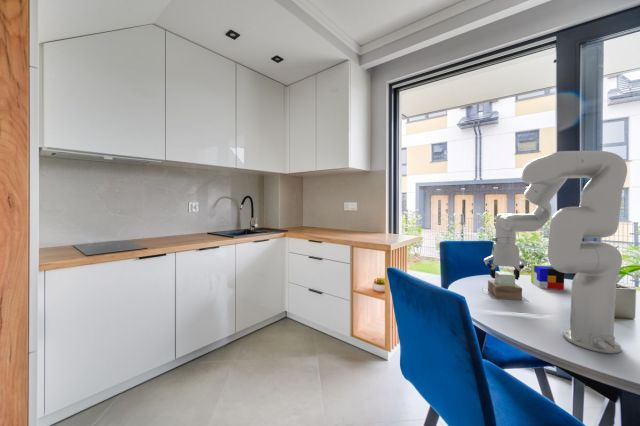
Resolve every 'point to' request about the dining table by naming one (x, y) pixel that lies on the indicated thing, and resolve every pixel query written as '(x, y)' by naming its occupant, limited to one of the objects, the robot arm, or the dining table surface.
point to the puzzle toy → (547, 277)
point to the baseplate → (504, 298)
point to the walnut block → (504, 290)
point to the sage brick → (504, 278)
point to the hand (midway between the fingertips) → (504, 278)
